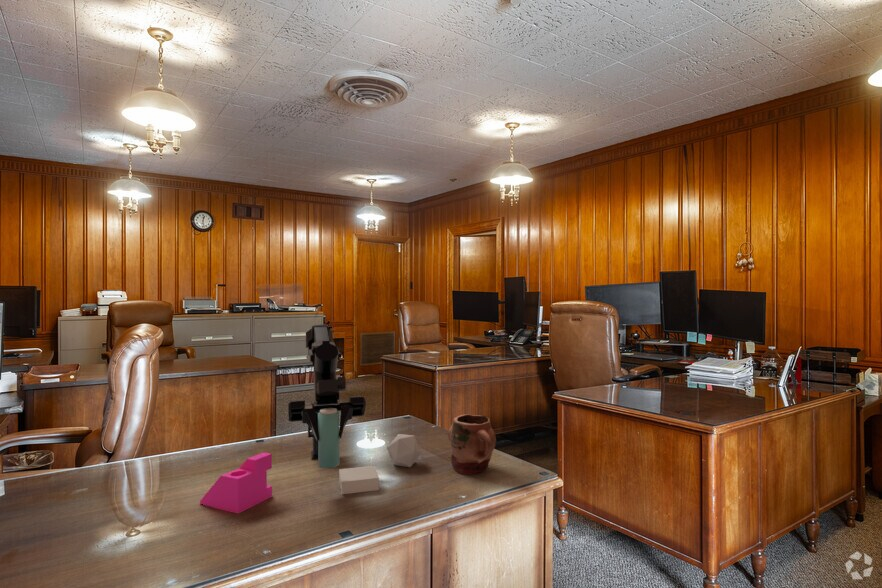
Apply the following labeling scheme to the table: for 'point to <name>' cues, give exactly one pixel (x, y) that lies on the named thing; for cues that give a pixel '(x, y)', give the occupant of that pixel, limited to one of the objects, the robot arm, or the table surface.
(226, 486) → the bracket
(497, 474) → the table surface
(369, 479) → the block
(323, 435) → the thermos
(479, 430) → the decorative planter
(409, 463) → the die
